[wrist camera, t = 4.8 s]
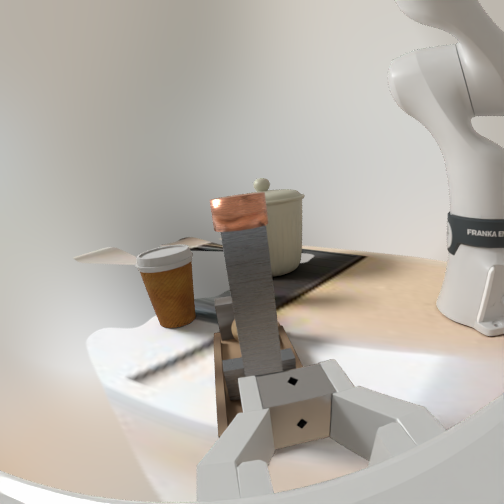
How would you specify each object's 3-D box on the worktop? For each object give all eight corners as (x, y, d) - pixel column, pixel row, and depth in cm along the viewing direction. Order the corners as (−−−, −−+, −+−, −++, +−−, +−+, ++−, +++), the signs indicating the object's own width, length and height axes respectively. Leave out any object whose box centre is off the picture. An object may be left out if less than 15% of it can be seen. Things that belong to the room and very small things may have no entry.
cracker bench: (327, 432, 21) (329, 377, 20) (223, 453, 20) (206, 401, 19) (279, 331, 41) (274, 288, 39) (215, 342, 40) (207, 299, 38)
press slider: (309, 414, 22) (291, 190, 18) (233, 429, 21) (186, 205, 17) (292, 377, 27) (273, 188, 23) (229, 389, 27) (192, 200, 23)
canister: (314, 279, 59) (304, 173, 54) (226, 287, 61) (210, 185, 57) (308, 256, 76) (300, 174, 71) (239, 263, 79) (228, 183, 74)
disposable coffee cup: (202, 304, 54) (190, 241, 51) (207, 326, 45) (192, 252, 42) (153, 313, 52) (138, 250, 49) (148, 337, 43) (129, 263, 40)
